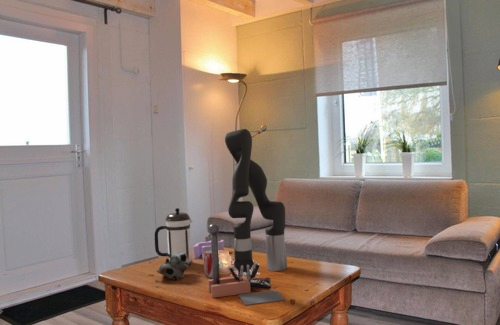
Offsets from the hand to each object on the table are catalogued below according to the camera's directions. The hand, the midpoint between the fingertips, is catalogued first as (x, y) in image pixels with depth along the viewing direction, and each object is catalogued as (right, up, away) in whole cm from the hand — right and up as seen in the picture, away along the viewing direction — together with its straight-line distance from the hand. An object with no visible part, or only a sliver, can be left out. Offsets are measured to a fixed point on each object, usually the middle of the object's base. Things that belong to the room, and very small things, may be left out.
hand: (245, 288), depth 185 cm
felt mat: (+7, -1, -11) cm, 13 cm away
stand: (-12, -1, -3) cm, 12 cm away
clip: (-21, 0, +64) cm, 67 cm away
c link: (-7, -1, -2) cm, 7 cm away
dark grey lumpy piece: (-34, -2, +24) cm, 42 cm away
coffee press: (-36, -1, +46) cm, 58 cm away
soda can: (-16, -1, +22) cm, 27 cm away
